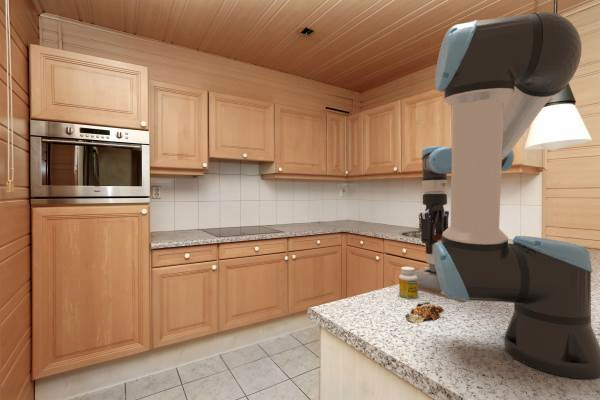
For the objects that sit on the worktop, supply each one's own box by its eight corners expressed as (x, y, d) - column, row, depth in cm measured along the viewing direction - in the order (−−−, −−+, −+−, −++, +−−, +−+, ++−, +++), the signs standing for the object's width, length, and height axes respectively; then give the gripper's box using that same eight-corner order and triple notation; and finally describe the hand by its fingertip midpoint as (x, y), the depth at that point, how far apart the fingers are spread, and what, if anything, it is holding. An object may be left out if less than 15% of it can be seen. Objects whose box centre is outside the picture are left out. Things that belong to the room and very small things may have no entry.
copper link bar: (417, 283, 106) (416, 232, 106) (424, 281, 109) (424, 231, 108) (447, 291, 97) (447, 235, 97) (455, 288, 100) (454, 234, 99)
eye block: (441, 292, 96) (441, 277, 96) (413, 285, 104) (413, 270, 104) (458, 286, 102) (458, 272, 101) (430, 280, 110) (430, 266, 110)
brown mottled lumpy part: (400, 320, 80) (400, 307, 80) (422, 308, 87) (422, 296, 87) (426, 328, 74) (425, 314, 74) (447, 315, 82) (447, 302, 82)
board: (463, 306, 87) (463, 302, 87) (406, 289, 103) (406, 286, 103) (490, 294, 96) (489, 291, 96) (434, 281, 112) (434, 278, 112)
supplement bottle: (408, 295, 98) (407, 265, 97) (421, 300, 93) (421, 268, 93) (395, 297, 95) (395, 267, 95) (408, 303, 90) (408, 271, 90)
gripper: (429, 193, 94) (430, 268, 95) (459, 192, 104) (460, 260, 105) (408, 193, 100) (409, 264, 101) (438, 193, 110) (439, 257, 111)
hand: (435, 262), depth 103 cm, fingers closed on copper link bar, 5 cm apart
